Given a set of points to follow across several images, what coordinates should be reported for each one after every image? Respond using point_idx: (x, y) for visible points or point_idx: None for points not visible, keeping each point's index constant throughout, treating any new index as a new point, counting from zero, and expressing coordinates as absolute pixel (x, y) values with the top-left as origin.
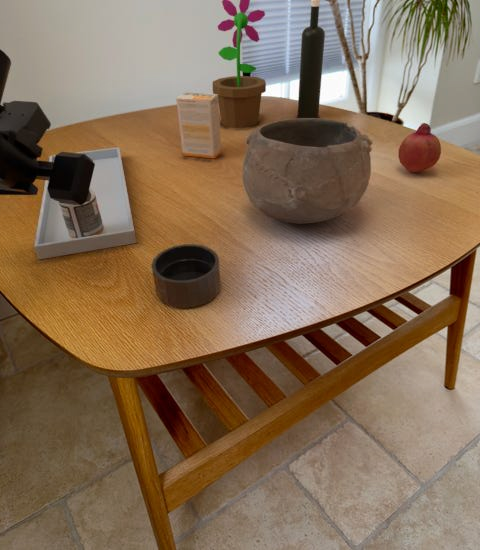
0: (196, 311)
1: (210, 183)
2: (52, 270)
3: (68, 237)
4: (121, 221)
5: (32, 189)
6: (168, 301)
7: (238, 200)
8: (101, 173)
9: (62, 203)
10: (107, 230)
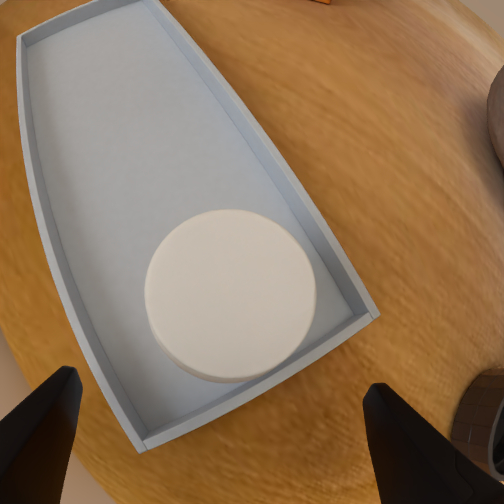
0: None
1: (372, 67)
2: (212, 475)
3: None
4: None
5: (70, 410)
6: None
7: (447, 127)
8: (125, 43)
9: (199, 376)
10: None
